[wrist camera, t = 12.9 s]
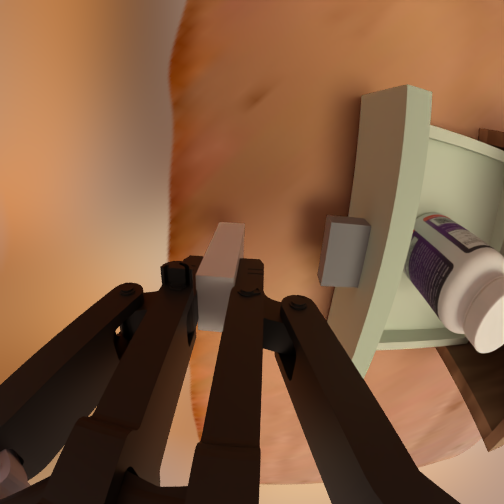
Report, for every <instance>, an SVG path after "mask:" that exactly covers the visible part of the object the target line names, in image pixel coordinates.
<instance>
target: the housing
mask: <svg viewBox="0 0 504 504" xmlns="http://www.w3.org/2000/svg"><path fill="white" fill-rule="evenodd" d="M478 141H480V142H483V143H485V144H488V145H490V146H493V147H495V148H498V149H500V150H503V151H504V132H500V131H494V130H488V129H481V128H480V129H479V140H478ZM435 348H436V349H437V351H438V353H439V354H440V356H441V358H442V360H443V361H444V363H445V365H446V367H447V369H448V370H449V372H450V374H451V376H452V378H453V380H454V381H455V383H456V385H457V387H458V389H459V391H460V393H461V395H462V397H463V399H464V401H465V403H466V405H467V407H468V409H469V411H470V413H471V415H472V417H473V419H474V421H475V423H476V425H477V428H478V430H479V432H480V434H481V437H482V439H483V441H484V443H485V446H486V448H487V451H488V452H490V451H492V450H494V449H496V448H499V447H501V446H503V445H504V344H503V345H502V346H501V347H499V348H498V349H496V350H494V351H492V352H489V353H480V352H478V351H477V350H476V349H475V348H474V346H473V345H472V344H471V343H470V341H468V343H467V344H458V345H449V346H439V347H435Z"/></svg>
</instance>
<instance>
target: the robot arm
mask: <svg viewBox="0 0 504 504" xmlns="http://www.w3.org/2000/svg"><path fill="white" fill-rule="evenodd" d="M244 233H245V223H229V222H219V224H218V226H217V229H216V231H215V233H214V235H213V237H212V239H211V242H210V244H209V246H208V248H207V250H206V253H205V255H204V256H191V255H190V256H189V257H187V258H186V259H184V260H183V261H172V262H168V263H165V264H163V265H162V266H161V277H162V286H161V288H160V289H159V291H156V292H146V293H143V288H142V286H141V285H139V284H136V283H124V284H121V285H119V286H117V287H115V288H114V289H113V290H111V291H110V292H109V293H108V294H106V295H105V296H104V297H103V298H101V299H100V300H99V301H97V302H96V303H95V304H94V305H93V306H91V307H90V308H89V309H88V310H86V311H85V312H84V313H83V314H81V315H80V316H79V317H78V318H76V319H75V320H74V321H73V322H72V323H71V324H69V325H68V326H67V327H66V328H64V329H63V330H62V331H61V332H60V333H58V334H57V335H56V336H55V337H54V338H53V339H51V340H50V341H49V342H48V343H47V344H46V345H44V346H43V347H42V348H41V349H40V350H39V351H37V353H35V354H34V355H33V356H32V357H31V358H30V359H28V360H27V361H26V362H25V363H24V364H23V365H22V366H21V367H20V368H18V369H17V370H16V371H15V372H14V373H13V374H12V375H11V376H10V377H8V379H6V380H5V381H4V382H3V383H2V384H1V385H0V504H259V483H260V456H261V452H260V418H261V389H262V355H263V348H264V349H267V350H271V351H274V352H275V358H276V361H277V363H278V366H279V369H280V371H281V374H282V377H283V379H284V382H285V385H286V387H287V390H288V393H289V395H290V398H291V400H292V403H293V406H294V408H295V411H296V413H297V416H298V419H299V421H300V424H301V426H302V429H303V432H304V434H305V437H306V439H307V442H308V445H309V447H310V450H311V452H312V455H313V457H314V460H315V462H316V465H317V468H318V470H319V473H320V475H321V478H322V480H323V483H324V485H325V488H326V490H327V493H328V495H329V498H330V500H331V503H332V504H460V503H459V502H458V501H457V500H455V499H454V498H453V497H451V496H450V495H449V494H448V493H446V492H445V491H444V490H442V489H441V488H440V487H439V486H437V485H436V484H435V483H433V482H432V481H431V480H430V479H428V478H427V477H426V476H425V475H424V474H422V473H421V472H420V471H419V470H418V468H417V466H416V465H415V463H414V461H413V459H412V458H411V456H410V454H409V453H408V451H407V449H406V448H405V446H404V444H403V443H402V441H401V439H400V438H399V436H398V434H397V433H396V431H395V429H394V428H393V426H392V424H391V423H390V421H389V420H388V418H387V416H386V415H385V413H384V411H383V410H382V408H381V407H380V405H379V403H378V402H377V400H376V398H375V397H374V395H373V394H372V392H371V390H370V389H369V387H368V386H367V384H366V382H365V381H364V379H363V378H362V376H361V374H360V373H359V371H358V370H357V368H356V367H355V365H354V363H353V362H352V360H351V359H350V357H349V356H348V354H347V352H346V351H345V349H344V348H343V346H342V345H341V343H340V341H339V340H338V338H337V337H336V335H335V334H334V332H333V331H332V329H331V328H330V326H329V324H328V323H327V321H326V320H325V318H324V317H323V315H322V314H321V312H320V311H319V309H318V308H317V306H316V305H315V303H314V302H313V301H312V300H311V299H309V298H307V297H305V296H301V295H291V296H287V297H285V298H283V300H282V301H281V302H278V301H275V300H272V299H270V298H268V297H267V296H266V295H265V294H264V291H263V281H264V264H263V263H262V262H261V260H260V259H246V258H243V255H244ZM197 322H198V330H205V331H215V332H222V336H221V341H220V346H219V351H218V356H217V361H216V366H215V371H214V376H213V381H212V386H211V391H210V396H209V401H208V407H207V412H206V417H205V422H204V427H203V433H202V437H201V441H200V442H199V443H198V444H197V446H196V449H195V453H194V457H193V462H192V468H191V473H190V478H189V483H188V486H183V487H160V466H161V462H162V459H163V454H164V451H165V447H166V443H167V439H168V435H169V432H170V428H171V424H172V421H173V417H174V413H175V409H176V406H177V402H178V399H179V395H180V391H181V388H182V385H183V381H184V377H185V374H186V370H187V367H188V364H189V360H190V357H191V353H192V350H193V346H194V343H195V340H196V325H197ZM119 326H120V330H121V331H120V332H119V334H116V332H115V331H116V329H117V328H118V327H119ZM96 406H97V408H96ZM94 408H96V410H95V412H94V413H93V415H92V416H90V417H88V416H89V415H90V414H91V412H92V411H93V410H94ZM64 445H65V446H64ZM63 446H64V448H63V450H62V452H61V454H60V456H59V459H58V461H57V463H56V465H55V468H54V470H53V472H52V474H51V476H49V477H47V478H45V479H43V480H41V481H40V482H37V483H35V484H33V485H31V486H30V484H29V483H28V480H29V479H31V478H33V477H34V476H36V475H37V474H38V473H39V472H41V471H42V470H43V469H44V468H45V467H46V466H47V465H48V464H49V463H50V462H51V461H52V459H53V458H54V457H55V456H56V454H57V453H58V452H59V451H60V450H61V449H62V447H63Z"/></svg>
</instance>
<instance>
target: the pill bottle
mask: <svg viewBox="0 0 504 504" xmlns="http://www.w3.org/2000/svg"><path fill="white" fill-rule="evenodd" d="M403 272H404V273H405V275H406V276H407V277H408V279H409V280H410V281H411V282H412V284H413V285H414V286H415V287H416V289H417V290H418V291H419V292H420V294H421V295H422V296H423V298H424V299H425V300H426V302H427V303H428V304H429V306H430V307H431V308H432V310H433V311H434V312H435V314H436V315H437V317H438V318H439V319H440V321H441V322H442V323H443V324H444V326H445V327H446V328H447V329H448V330H450V331H452V332H454V333H457V334H465V335H466V337H467V339H468V340H469V341H470V343H471V344H472V345H473V346H474V348H475V349H476V350H477V351H478V352H480V353H489V352H492V351H494V350H496V349H498V348H499V347H501V346H502V345H503V344H504V257H503V256H502V255H501V254H500V253H499V252H498V251H496V250H495V249H494V248H493V247H491V246H490V245H488V244H487V243H486V242H484V241H483V240H481V239H480V238H478V237H477V236H476V235H474V234H473V233H471V232H470V231H468V230H467V229H465V228H464V227H462V226H461V225H459V224H458V223H456V222H455V221H453V220H451V219H450V218H448V217H446V216H444V215H442V214H438V213H428V214H425V215H422V216H420V217H419V218H417V219H416V221H415V225H414V230H413V234H412V238H411V242H410V246H409V250H408V254H407V258H406V261H405V265H404V269H403Z"/></svg>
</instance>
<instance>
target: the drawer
mask: <svg viewBox="0 0 504 504" xmlns="http://www.w3.org/2000/svg"><path fill="white" fill-rule="evenodd" d="M431 106H432V92H430V91H427V90H424V89H421V88H418V87H415V86H411V85H408V84H407V85H403V86H398V87H394V88H389V89H385V90H381V91H377V92H373V93H369V94H366V95H362V96H361V110H360V123H359V134H358V145H357V154H356V163H355V171H354V179H353V187H352V194H351V201H350V208H349V214H348V217H345V216H334V215H327V216H326V223H325V230H324V237H323V244H322V250H321V256H320V263H319V269H318V274H317V275H318V278H319V282H320V285H321V286H333V287H335V289H334V294H333V298H332V303H331V307H330V312H329V316H328V320H327V323H328V324H329V326H330V328H331V329H332V331H333V332H334V334H335V335H336V337H337V338H338V340H339V341H340V343H341V345H342V346H343V348H344V349H345V351H346V352H347V354H348V356H349V357H350V359H351V360H352V362H353V363H354V365H355V367H356V368H357V370H358V371H359V373H360V374H361V376H362V378H363V379H364V377H365V375H366V373H367V370H368V368H369V366H370V363H371V361H372V358H373V356H374V353H375V351H376V350H396V349H413V348H427V347H439V346H449V345H458V344H467V343H468V341H469V340H468V339H467V337H466V335H465V334H457V333H454V332H452V331H450V330H448V329H447V328H446V327H445V326H444V324H443V323H442V322H441V321H440V319H439V318H438V317H437V315H436V314H435V312H434V311H433V310H432V308H431V307H430V306H429V304H428V303H427V302H426V300H425V299H424V298H423V296H422V295H421V294H420V292H419V291H418V290H417V289H416V287H415V286H414V285H413V284H412V282H411V281H410V280H409V279H408V277H407V276H406V275H405V273H404V272H403V269H404V265H405V261H406V258H407V254H408V250H409V246H410V242H411V238H412V234H413V230H414V225H415V221H416V219H417V218H419V217H420V216H422V215H425V214H428V213H438V214H442V215H444V216H446V217H448V218H450V219H451V220H453V221H455V222H456V223H458V224H459V225H461V226H462V227H464V228H465V229H467V230H468V231H470V232H471V233H473V234H474V235H476V236H477V237H478V238H480V239H481V240H483V241H484V242H486V243H487V244H488V245H490V246H491V247H493V248H494V249H495V250H496V251H498V252H499V253H500V254H501V255H502V256H503V257H504V151H503V150H500V149H498V148H495V147H493V146H490V145H488V144H485V143H483V142H480V141H477V140H475V139H472V138H469V137H466V136H464V135H461V134H458V133H455V132H452V131H449V130H445V129H442V128H439V127H436V126H432V125H430V121H431Z"/></svg>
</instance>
